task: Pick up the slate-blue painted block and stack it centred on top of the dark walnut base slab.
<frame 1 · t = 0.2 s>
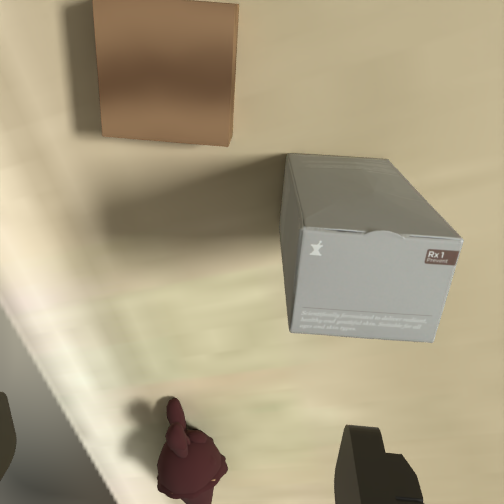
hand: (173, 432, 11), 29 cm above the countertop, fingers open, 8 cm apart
walnut base: (174, 68, 35), on the countertop
icecream: (196, 440, 53), on the countertop
skincare box: (335, 187, 39), on the countertop
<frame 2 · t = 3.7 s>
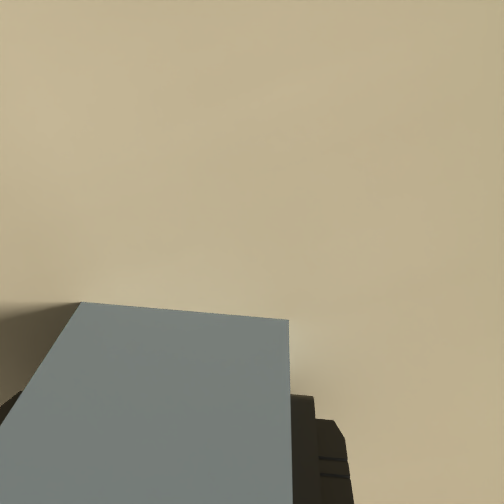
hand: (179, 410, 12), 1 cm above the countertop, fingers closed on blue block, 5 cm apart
blue block: (184, 387, 13), on the countertop, touching gripper
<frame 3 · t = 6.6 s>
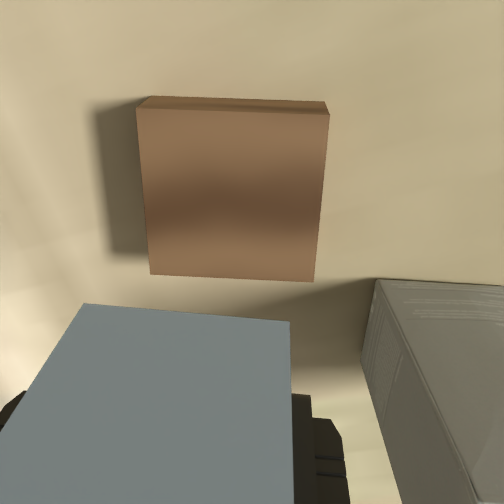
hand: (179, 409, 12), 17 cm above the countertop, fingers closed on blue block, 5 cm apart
blue block: (185, 389, 13), point 16 cm above the countertop, touching gripper
walnut base: (237, 178, 27), on the countertop
skincare box: (432, 315, 31), on the countertop
when the fingers open (5 cm above the countertop, at t = 9.5 s): blue block drops 1 cm, resting on walnut base.
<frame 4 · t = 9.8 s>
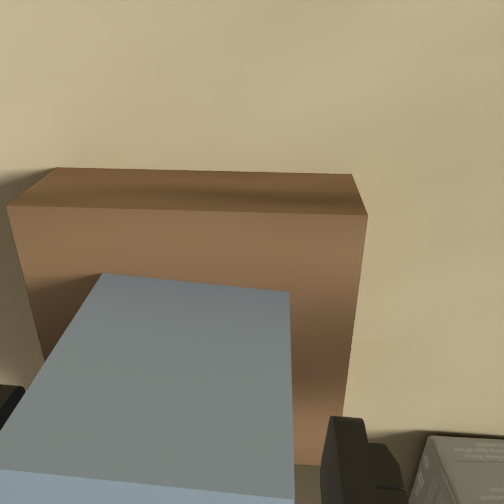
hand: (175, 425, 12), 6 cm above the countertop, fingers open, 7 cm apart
blue block: (193, 355, 14), point 3 cm above the countertop, touching walnut base
walnut base: (209, 289, 17), on the countertop, touching blue block
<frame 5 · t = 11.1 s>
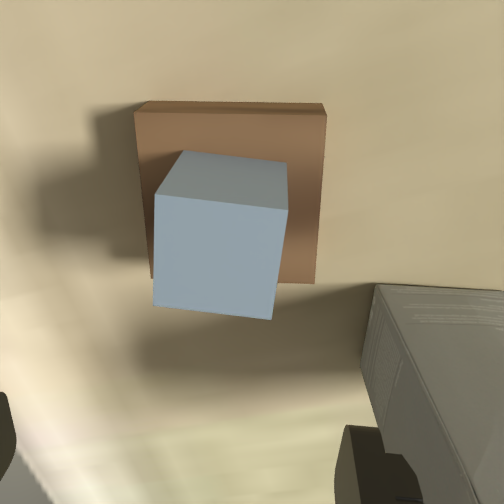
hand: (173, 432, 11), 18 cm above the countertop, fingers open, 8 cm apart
blue block: (230, 204, 24), point 3 cm above the countertop, touching walnut base
walnut base: (236, 182, 27), on the countertop, touching blue block
skincare box: (432, 320, 31), on the countertop
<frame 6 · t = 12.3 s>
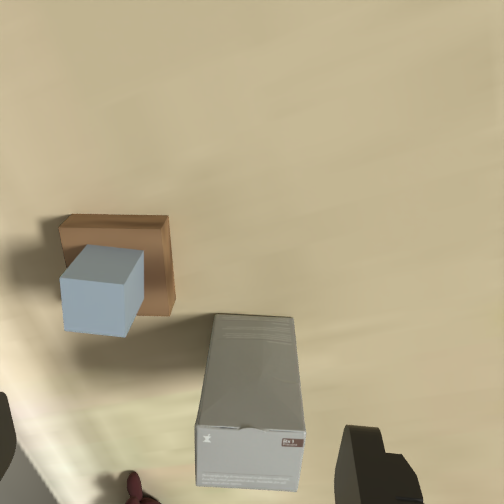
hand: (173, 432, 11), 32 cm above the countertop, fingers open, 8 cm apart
blue block: (116, 272, 43), point 3 cm above the countertop, touching walnut base
walnut base: (127, 255, 47), on the countertop, touching blue block
skincare box: (255, 335, 50), on the countertop
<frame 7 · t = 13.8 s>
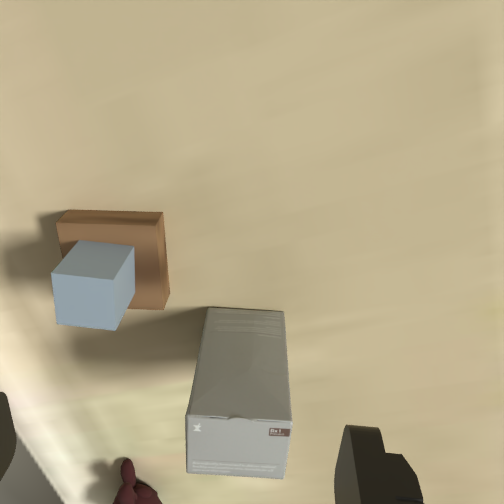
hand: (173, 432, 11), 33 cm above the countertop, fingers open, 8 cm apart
blue block: (108, 266, 45), point 3 cm above the countertop, touching walnut base
walnut base: (122, 250, 48), on the countertop, touching blue block
icecream: (144, 490, 65), on the countertop
skincare box: (247, 328, 51), on the countertop
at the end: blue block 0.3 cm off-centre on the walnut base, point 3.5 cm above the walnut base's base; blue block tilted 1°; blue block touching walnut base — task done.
